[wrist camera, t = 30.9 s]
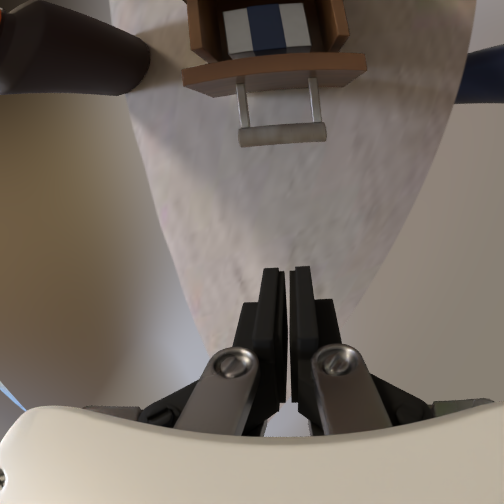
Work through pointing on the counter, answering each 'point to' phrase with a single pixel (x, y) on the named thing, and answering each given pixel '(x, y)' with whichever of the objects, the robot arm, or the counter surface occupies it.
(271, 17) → the striped block
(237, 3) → the drawer
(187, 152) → the counter surface
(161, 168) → the counter surface
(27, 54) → the bottle
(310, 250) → the counter surface
